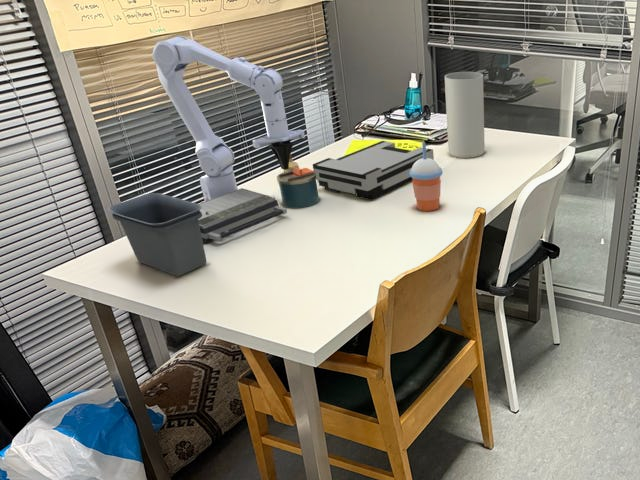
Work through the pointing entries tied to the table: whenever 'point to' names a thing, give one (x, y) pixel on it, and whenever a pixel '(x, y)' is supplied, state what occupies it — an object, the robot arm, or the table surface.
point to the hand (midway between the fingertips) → (284, 168)
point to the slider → (301, 171)
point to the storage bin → (163, 231)
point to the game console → (369, 170)
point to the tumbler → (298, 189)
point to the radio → (235, 213)
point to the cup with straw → (426, 182)
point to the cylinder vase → (465, 114)
